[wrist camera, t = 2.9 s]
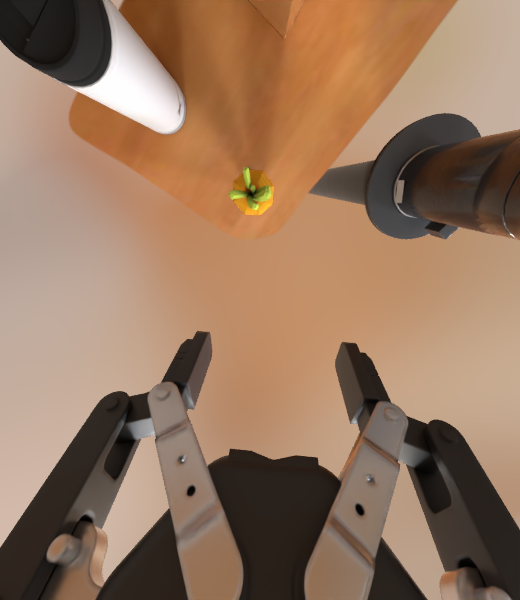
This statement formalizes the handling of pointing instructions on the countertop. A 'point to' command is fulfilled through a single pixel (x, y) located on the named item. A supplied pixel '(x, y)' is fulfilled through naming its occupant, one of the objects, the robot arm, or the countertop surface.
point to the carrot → (252, 192)
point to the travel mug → (94, 57)
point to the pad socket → (279, 13)
